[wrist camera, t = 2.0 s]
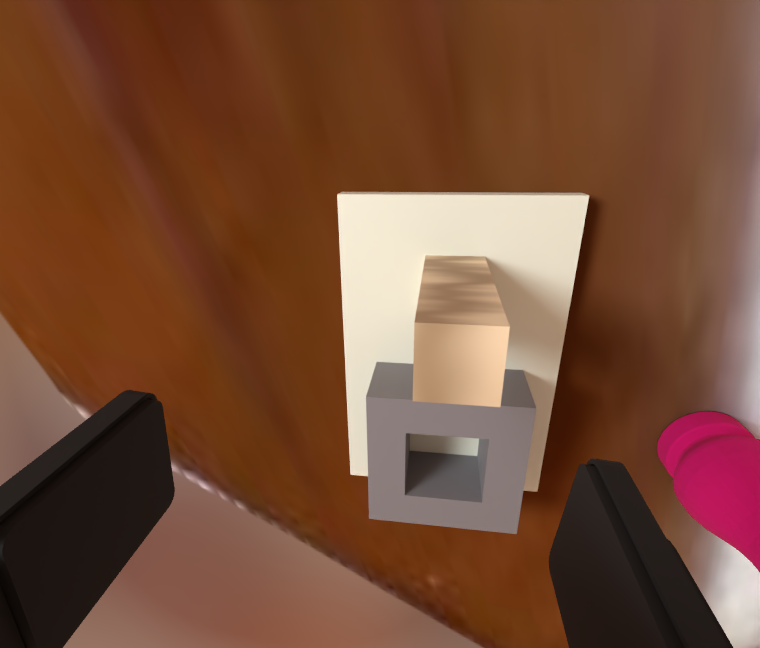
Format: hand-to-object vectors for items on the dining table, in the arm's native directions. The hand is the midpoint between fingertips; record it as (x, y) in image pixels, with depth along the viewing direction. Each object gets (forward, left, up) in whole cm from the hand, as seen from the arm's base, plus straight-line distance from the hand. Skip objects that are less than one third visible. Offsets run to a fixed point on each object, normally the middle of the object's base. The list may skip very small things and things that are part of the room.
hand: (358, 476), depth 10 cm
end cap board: (-3, +8, -23) cm, 25 cm away
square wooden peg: (-3, +2, -22) cm, 22 cm away
